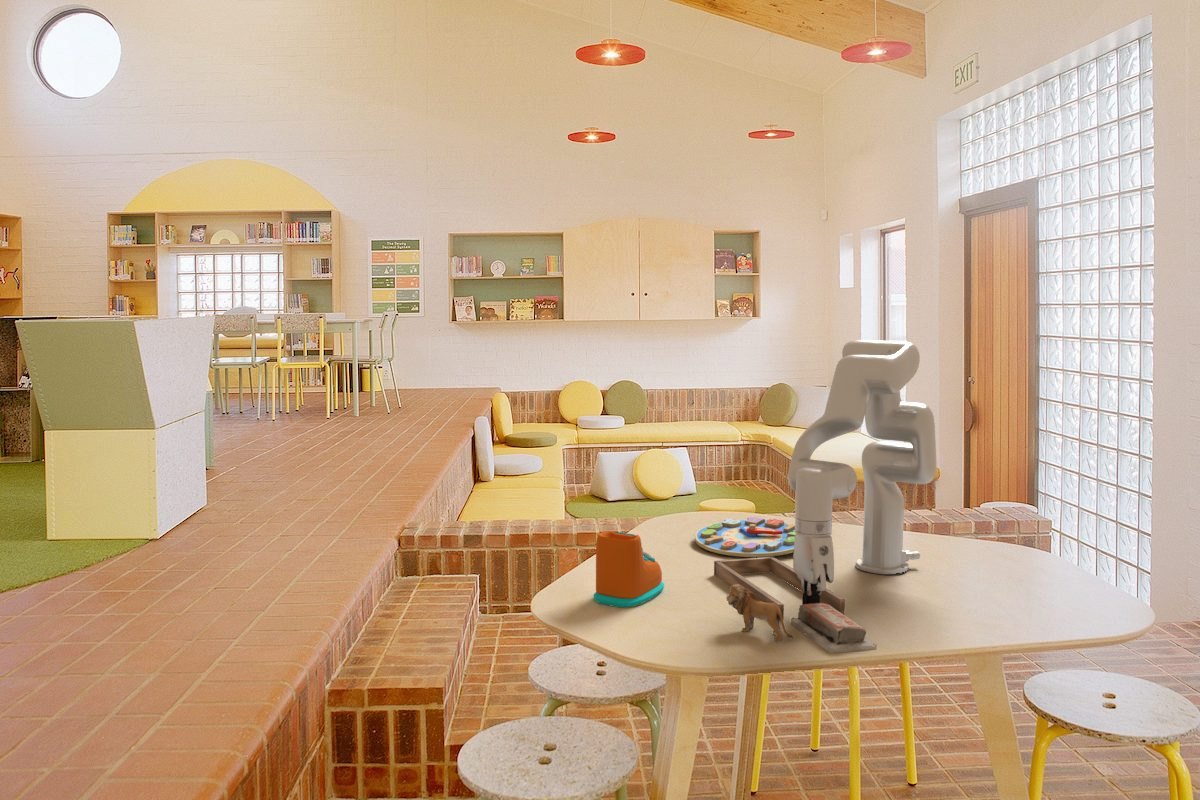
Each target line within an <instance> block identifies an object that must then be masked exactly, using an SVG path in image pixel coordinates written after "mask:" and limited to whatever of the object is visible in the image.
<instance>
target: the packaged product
mask: <svg viewBox="0 0 1200 800" xmlns="http://www.w3.org/2000/svg"><path fill="white" fill-rule="evenodd" d="M798 611H799V612H798V615H797V617H796V618H795V617H792V618H790V624H791V625H792V626H793V627H795V628H796V629H798V630H799V631H800V632H801V633H802V634H804V635H806V637H808V639H810V640H812V641H813V642H814V643H816V645H818V646H820V648H823V650H826V651H827V652H828V653H830V654H835V653H846V652H847V653H848V652H857V651H859V652H860V651H869V650H875V649H877V645H878V644H876V643H873V641H872V640H869V639H867V637H866V635H867V630H866V629H865V628H863V627H862V626H861V625H860V624H858V623H857V622H855V621H853V620H852V619H850V618H849V617H847V616H846V615H843V614H842V613H840V612H839V611H837V610H836V609H834V608H833V607H831V606H830V605H828V604H825V603H812V604H803V605H802V604H801V605H799V607H798Z"/></svg>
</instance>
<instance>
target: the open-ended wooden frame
mask: <svg viewBox="0 0 1200 800" xmlns="http://www.w3.org/2000/svg"><path fill="white" fill-rule="evenodd" d="M713 565H714V566H713V576H714V577H716V578H717V579H719V580H720V581H722V582H723V583H724V584H726V585H727V586H729V587H730V586H732V585H735V584H739V585H743V586H744V587H746V588H748V589H749V591H752V592H753V593H754V594H755V595H756V597H757V598H758V599H759V601H762V602H766V603H775V604H776V605H778V606H779V607H780V609H781V613H782V616H783V621H784V620H785V619H784V618H785V617H784V614H785V613H784V610H785V609H784V607H785V604H784V603H783V602H781V601H780V600H778V599H777V598H775V597H774V596H772V595H771V594H769V593H768V592H767V591H765V590H763V589H761V588H760V587H759V586H757V585H755V583H754V582H752V581H750V580H748V579H747V578H746V577H744V576H742V575H751V574H764V573H763V572H766V573H771V574H773V575H774V576H775V575H776V577H777V578H779V579H780V578H781V579H780V580H782V579H783V580H784V581H783V580H782V581H783V582H785V581H786V582H785V583H787V582H788V583H789V585H790V584H791V585H793V586H794V587H793V586H792V587H793V588H795V587H796V588H798V589H799V590H801V591H802V587H801V581H800V579H799V578H798V576H797V574H796V573H795V572H794V569H793V568H792V567H791V566H790V565H788V564H787V563H785V562H783V561H781V560H779V559H778V558H775V556H774V557H761V558H756V557H746V558H736V559H724V560H723V559H722V560H714V561H713ZM788 583H787V584H788ZM791 585H790V586H791ZM796 588H795V589H796ZM798 589H797V590H798ZM799 590H798V591H799ZM801 591H800V592H801ZM804 593H805V592H804ZM820 603H825V604H828V605H830V606H831V607H833V608H834V609H836V610H837V611H839V612H840V613H842V614H843V615H844V616H846V615H845V614H846V613H845V612H846V598H844V597H843V596H841V595H839V594H837V593H836V592H834V591H832V590H831V589H829V588H827V590H826V591H821V595H820Z"/></svg>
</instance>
